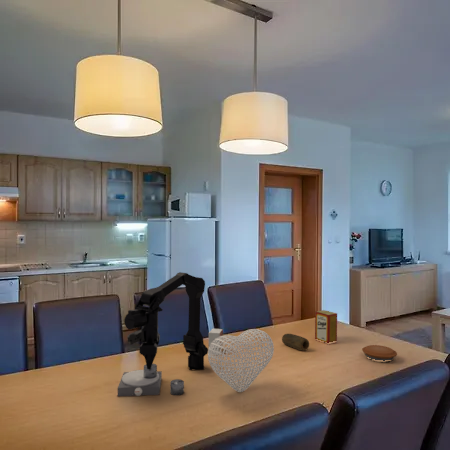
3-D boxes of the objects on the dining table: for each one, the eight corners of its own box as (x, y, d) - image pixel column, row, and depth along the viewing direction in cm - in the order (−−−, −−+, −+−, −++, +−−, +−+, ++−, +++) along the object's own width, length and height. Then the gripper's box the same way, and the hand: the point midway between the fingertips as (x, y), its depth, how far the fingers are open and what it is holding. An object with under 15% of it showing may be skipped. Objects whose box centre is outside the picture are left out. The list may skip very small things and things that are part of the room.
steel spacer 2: (183, 389, 151) (183, 379, 151) (183, 395, 146) (183, 384, 146) (170, 390, 150) (170, 379, 150) (170, 395, 145) (170, 384, 145)
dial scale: (161, 378, 161) (161, 368, 161) (159, 395, 145) (159, 384, 145) (123, 379, 159) (123, 369, 159) (117, 396, 144) (117, 385, 143)
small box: (219, 355, 190) (219, 333, 190) (208, 354, 191) (208, 332, 191) (222, 349, 198) (223, 328, 198) (212, 349, 199) (212, 328, 199)
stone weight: (311, 350, 199) (311, 337, 199) (302, 353, 195) (302, 339, 195) (289, 343, 211) (289, 330, 211) (279, 345, 207) (280, 332, 207)
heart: (226, 410, 134) (226, 345, 134) (198, 394, 146) (199, 334, 146) (281, 388, 152) (282, 331, 152) (253, 376, 164) (254, 322, 164)
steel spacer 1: (157, 373, 156) (157, 363, 156) (156, 378, 151) (156, 368, 151) (144, 373, 155) (144, 363, 155) (142, 378, 150) (143, 368, 150)
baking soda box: (336, 342, 212) (337, 312, 212) (328, 344, 209) (328, 314, 209) (323, 338, 220) (323, 309, 220) (315, 339, 217) (315, 310, 217)
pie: (361, 361, 184) (361, 350, 184) (362, 351, 198) (363, 341, 198) (397, 366, 178) (397, 355, 178) (396, 355, 193) (396, 345, 193)
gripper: (132, 318, 161) (131, 356, 161) (125, 331, 142) (124, 374, 142) (160, 318, 162) (159, 356, 162) (156, 330, 144) (156, 373, 144)
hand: (149, 364), depth 153 cm, fingers open, 9 cm apart
